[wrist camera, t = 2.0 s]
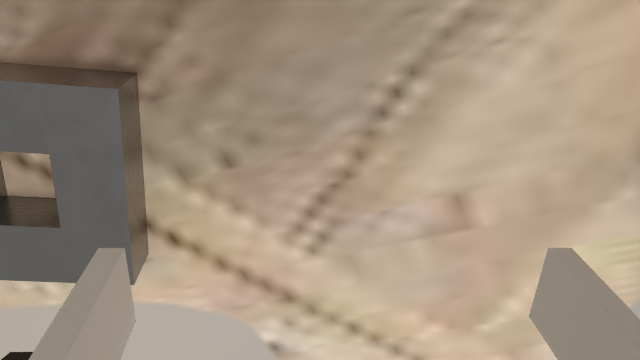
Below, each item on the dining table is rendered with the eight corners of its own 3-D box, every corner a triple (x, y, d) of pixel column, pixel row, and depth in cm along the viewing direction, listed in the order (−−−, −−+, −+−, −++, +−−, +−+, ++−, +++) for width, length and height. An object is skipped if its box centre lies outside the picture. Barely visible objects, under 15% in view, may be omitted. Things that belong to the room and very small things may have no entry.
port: (-94, 55, 35) (-144, 69, 31) (136, 73, 37) (117, 89, 32) (-45, 244, 42) (-81, 276, 38) (148, 253, 43) (134, 284, 39)
